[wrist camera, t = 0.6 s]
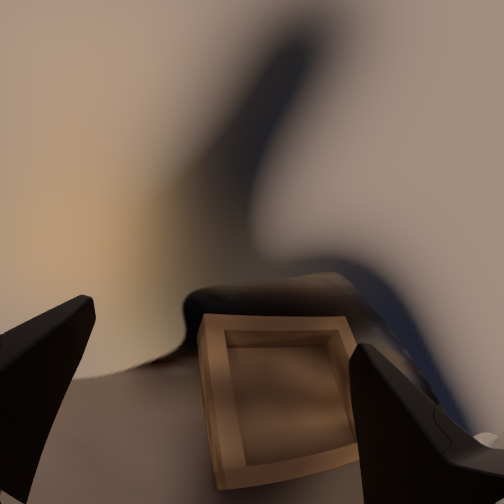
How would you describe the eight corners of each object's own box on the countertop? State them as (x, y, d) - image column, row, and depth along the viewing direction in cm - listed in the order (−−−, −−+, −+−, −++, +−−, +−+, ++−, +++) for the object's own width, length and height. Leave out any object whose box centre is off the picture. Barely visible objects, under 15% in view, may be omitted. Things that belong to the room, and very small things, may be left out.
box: (366, 456, 20) (393, 446, 18) (215, 490, 16) (227, 489, 14) (327, 336, 30) (345, 316, 28) (196, 337, 26) (203, 313, 23)
